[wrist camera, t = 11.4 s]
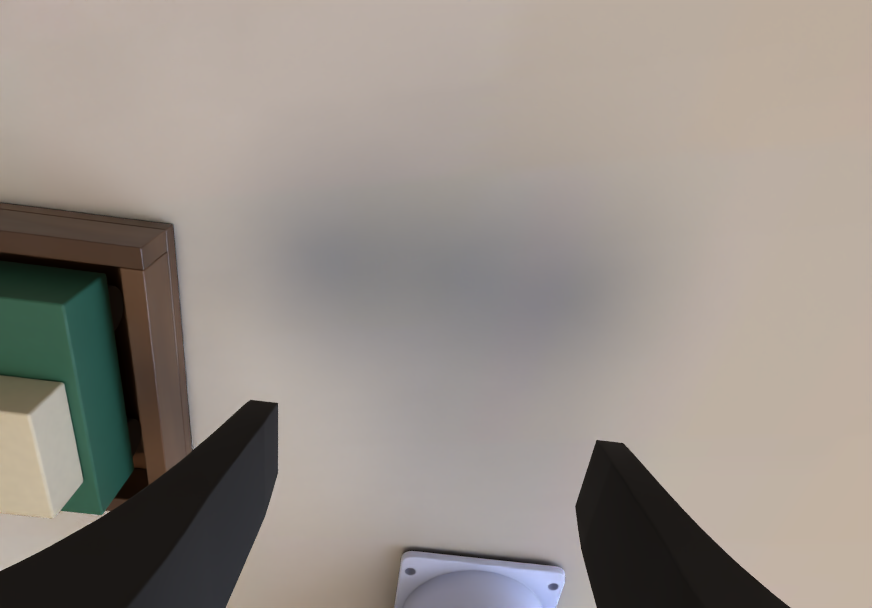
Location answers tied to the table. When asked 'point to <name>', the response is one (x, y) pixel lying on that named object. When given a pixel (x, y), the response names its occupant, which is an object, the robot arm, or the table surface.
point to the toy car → (61, 392)
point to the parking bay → (123, 317)
